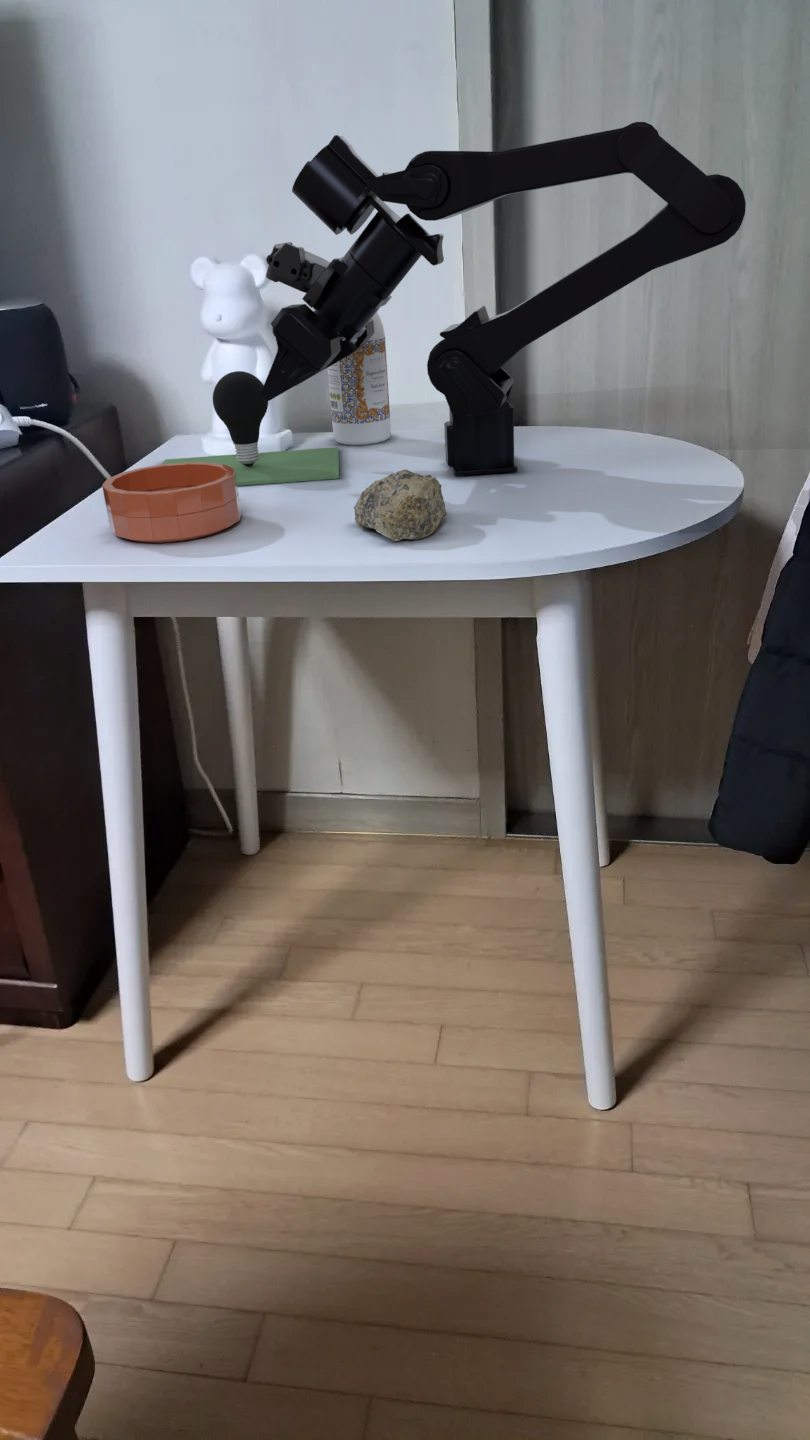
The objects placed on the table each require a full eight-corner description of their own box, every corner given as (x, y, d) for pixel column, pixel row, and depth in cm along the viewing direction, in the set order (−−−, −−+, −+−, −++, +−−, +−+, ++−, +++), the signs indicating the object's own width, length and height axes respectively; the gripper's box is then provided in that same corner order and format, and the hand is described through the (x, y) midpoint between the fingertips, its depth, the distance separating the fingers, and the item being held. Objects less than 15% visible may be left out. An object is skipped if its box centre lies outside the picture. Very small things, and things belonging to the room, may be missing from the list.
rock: (468, 531, 87) (466, 477, 85) (383, 547, 85) (379, 492, 83) (431, 512, 93) (429, 462, 91) (351, 527, 91) (347, 475, 89)
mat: (338, 450, 120) (337, 446, 120) (339, 478, 107) (339, 474, 107) (165, 462, 119) (165, 459, 119) (146, 492, 107) (145, 488, 106)
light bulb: (226, 475, 110) (212, 377, 105) (218, 464, 115) (205, 370, 110) (280, 468, 111) (269, 372, 107) (270, 458, 116) (259, 365, 112)
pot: (245, 505, 100) (239, 458, 98) (235, 539, 89) (228, 488, 87) (124, 514, 99) (116, 467, 97) (101, 549, 89) (91, 498, 87)
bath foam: (360, 448, 120) (346, 260, 111) (322, 442, 124) (305, 261, 116) (403, 437, 124) (392, 256, 115) (364, 431, 129) (351, 256, 120)
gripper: (335, 207, 108) (249, 324, 115) (280, 211, 92) (184, 347, 99) (413, 284, 110) (324, 395, 117) (373, 301, 94) (272, 428, 101)
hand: (278, 389), depth 108 cm, fingers open, 9 cm apart
